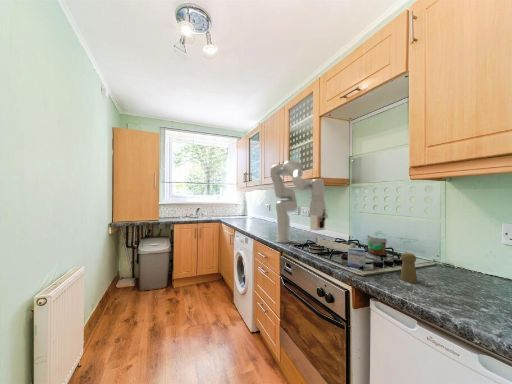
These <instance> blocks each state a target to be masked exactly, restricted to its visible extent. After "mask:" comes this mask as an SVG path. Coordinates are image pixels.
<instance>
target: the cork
mask: <svg viewBox="0 0 512 384" xmlns="http://www.w3.org/2000/svg"><path fill="white" fill-rule="evenodd" d="M400 259H401V262H402V264H401V271H400V275H399V276H400V277H399V280H400V281H401V282H405V283H410V284H416V283H418V277H417V269H416V265H415V264H416V261H417V256H416V255H415V254H414V253H410V252H409V253H408V252H404V253H401V256H400Z"/></svg>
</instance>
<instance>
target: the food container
mask: <svg viewBox="0 0 512 384" xmlns="http://www.w3.org/2000/svg"><path fill="white" fill-rule="evenodd" d="M365 240H366V241H367V250H368V254H369V255H372V256H380V257H382V256H381V255H384V256H385V255H386V245H387V243H388V240H387V238H379V237H372V236H370V235H366V239H365Z"/></svg>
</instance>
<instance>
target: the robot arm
mask: <svg viewBox="0 0 512 384" xmlns="http://www.w3.org/2000/svg"><path fill="white" fill-rule="evenodd" d="M269 173H270V174H269V176H270V178H271V182H272V183H273V189H274V193H275V197H276V198H277V199H278V201H277V202H276V203H275V209H276V217H277V218H276V219H277V221H276V226H277V227H276V230H277V234H276V235H275V238H276V239H275V240H274V241H275V242H277V243H282V244H283V243H286V244H288V243H291V242H292V241H293V240H292V239H291V238H290V237H291V236H290V235H291V234H290V233H291V232H290V230H291V229H290V227H291V226H290V225H291V222H290V220H291V219H290V215H289V214H288V213H294V212H296V211H297V210H298V201H297V197H296V192H295V190H294V189H293V188H292V187H288V186H285V182H284V179H283V178H282V177H281V176H283V177H285V176H287V177H289V176H290V177H291V181H292V184H293V186H295V188H297V189H298V190H299V191H301V192H303V191H305V192H306V191H307V192H311V197H310V199H311V200H310V203H309V213H308V216H309V217H310V215H313V216H318V217H320V228H324V221H325V222H326V220H327V218H328V217H329V215H328V214H327V207H326V205H327V204H326V202H325V180H324V179H322V178H315V179H309V178H307V179H305V178H302V176H303V175H304V172H303V166H302V163H301V162H299V161H295V160H286V161H284V162H283V164H279V163H278V164H277V163H276V164H274V165H272V166H271V168H270V171H269Z"/></svg>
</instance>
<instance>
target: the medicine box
mask: <svg viewBox="0 0 512 384" xmlns="http://www.w3.org/2000/svg"><path fill="white" fill-rule="evenodd" d="M347 266H348V267H350V266H351V267H353V268H360V267H362V266H363V269H365V268H366V249H365V248H360V247H355V248H348V253H347Z"/></svg>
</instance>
